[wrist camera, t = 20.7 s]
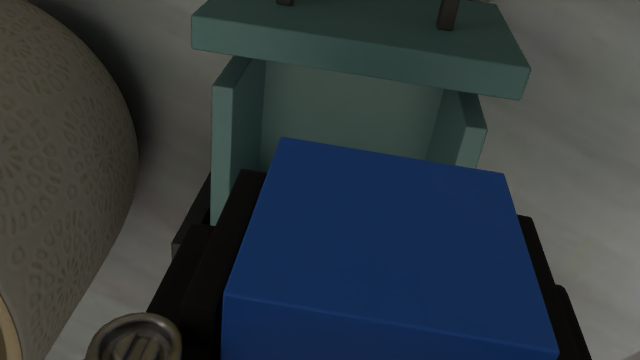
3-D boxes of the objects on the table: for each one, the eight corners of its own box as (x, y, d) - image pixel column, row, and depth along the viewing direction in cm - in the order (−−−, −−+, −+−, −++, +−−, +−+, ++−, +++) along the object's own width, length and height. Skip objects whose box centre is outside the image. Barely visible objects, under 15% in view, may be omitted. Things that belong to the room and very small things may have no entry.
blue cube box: (504, 172, 11) (562, 353, 7) (447, 328, 13) (468, 523, 9) (280, 135, 11) (222, 293, 7) (264, 296, 13) (214, 477, 10)
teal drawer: (250, -187, 22) (188, -192, 15) (539, -145, 22) (602, -132, 15) (233, 206, 32) (192, 303, 26) (428, 239, 32) (436, 345, 26)
